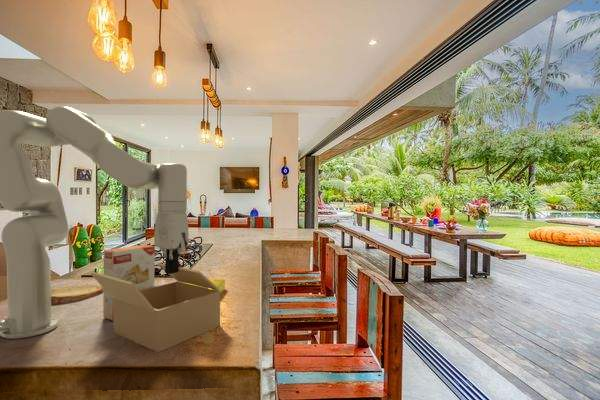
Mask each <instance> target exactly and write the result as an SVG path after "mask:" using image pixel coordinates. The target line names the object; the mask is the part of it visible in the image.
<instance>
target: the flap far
mask: <svg viewBox="0 0 600 400" xmlns="http://www.w3.org/2000/svg"><path fill="white" fill-rule="evenodd" d="M156 265H157V266H158V267H159V268H161V270H163V271H164V272H165V263H160V262H157V263H156ZM178 269H179V271H178V272H177V273H172V274H168V275H169V276H170V277H172V278H173V279H174V281H178V282H183V283H188V284H192V285H197V286H201V287H205V288H209V289H213V290H218V291H219V288H218V287H217V286H215V285H214V284H213V283H212V282H211V281H210V280H209V279H210V278H208V277H207V276H206V275H205V274H203V273H202V272H201V271H199V270H194V269H190V268H187V267H180V266H179V268H178Z"/></svg>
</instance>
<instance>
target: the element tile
mask: <svg viewBox="0 0 600 400" xmlns="http://www.w3.org/2000/svg"><path fill="white" fill-rule="evenodd" d="M208 279H209V280H210V281H211V282H212V283H213V284H214V285H215V286H217V287H218V288H219V291H220V296H221V295H223V293H224V292H225V290H226V289H225V288H226V281H225V279H224V278H208ZM187 284H188V283H187ZM191 285H192V284H191ZM195 286H197V285H195ZM200 287H201V286H200ZM204 288H205V287H204ZM208 289H209V288H208ZM212 290H213V289H212ZM216 291H218V290H216Z"/></svg>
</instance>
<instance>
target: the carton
mask: <svg viewBox="0 0 600 400" xmlns="http://www.w3.org/2000/svg"><path fill="white" fill-rule="evenodd" d="M139 291H140V292H141V293H142V294H143V296H144V297H145V298H146V299H147V301H148V302H149V303H150V304H151V305H152V307H153V308H154V309H155V310H156V311H155V312H152V311H149V310H146V309H143V308H140V307H137V306H134V305H131V304H128V303H125V302H122V301H119V300H116V299H113V306H114V321H113V334H115V335H117V336H120V337H123V339H126V340H128V341H131V342H133V343H135V344H137V345H140V346H142V347H145V348H146V349H149V350H151V351H153V350H154V351H153V352H156V353H159V352H161V351H164V350H166V349H169V348H171V347H173V346H176V345H179V344H181V343H183V342H186V341H189V340H190V339H193V338H195V337H197V336H199V335H202V334H204V333H206V332H209V331H211V330H213V329H216V328H218V327H220V326H221V295H220V291H216V290H212V289H208V288H204V287H200V286H195V285H191V284H187V283H184V282H180V281H177V280H174V281H171V282H167V283H163V284H159V285H154V287H150V288H146V289H142V290H139Z"/></svg>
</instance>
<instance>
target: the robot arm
mask: <svg viewBox="0 0 600 400" xmlns="http://www.w3.org/2000/svg"><path fill="white" fill-rule="evenodd" d="M22 144H23V145H28V146H34V147H39V148H52V147H59V146H67V145H71V146H72V147H73V148H75V149H76V150H78V151H79V152H81V153H82V154H83V155H85V156H86V157H88V158H90V159H91V161H92V163H94V165H96V166H97V167H98V168H99V169H100V170H101V171H103V172H104V173H105V174H107V175H108V176H109V177H111V178H112V179H114V180H115V181H117V182H119V183H120V184H122V185H123V186H125V187H127V188H130V189H133V190H135V189H136V190H156V189H157V212H156V217H155V223H154V224H155V225H154V237H153V240H154V241H153V243H154V247H157V248H158V249H159V250H160V251H161V252H163V257H164V260H165V263H164V264H165V271H164V272H165V273H166V274H168V275H169V274H172V273H177V272H178V271H179V269H178V268H179V267H180V266H179V265H180V264H179V262H180V261H179V260H180V258H181V255H182V254H186V252H187V251H186V248H187V247H188V246H189V239H190V238H189V222H188V215H187V207H188V206H187V202H188V201H187V199H188V198H187V194H188V192H187V191H188V190H187V189H188V187H187V186H188V185H187V182H188V178H187V177H188V171H187V169H188V168H187V167H186V165H185V164H183V163H174V162H173V163H172V162H171V163H170V162H169V163H168V162H166V163H161V164H157V163H152V162H147V161H142V160H139V159H137V158H135V157H134V156H133V155H131V154H130V153H128V152H127V151H125V150H124V149H123V148H121V147H120V146H119V145H117V143H115V138H114V136H113V135H112V134H111V133H110V132H108V131H107V130H105V129H104V128H102V127H101V126H100V125H98V124H97V123H96V121H95V120H94V118H93V116H91V115H88V114H87V113H85V112H82V111H80V110H77V109H75V108H73V107H69V106H62V105H59V106H56V107H52V108H51V109H50V110H49V111H48V112H47V113H46V115H45V118H44V117H42V116H41V117H40V116H37V115H35V114H31V113H29V112H24V111H21V110H16V109H3V110H0V205H1V206H2V207H3V208H4V209H5V210H7V211H9V212H14V213H22V212H23V213H25V212H29V213H30V215H26V216H20V217H17V218H13V219H11V220H10V221H9V222H7V223H6V224H5V225H4V227H3V228H2V231H1V243H2V246H3V249H4V253H5V261H6V280H7V281H6V285H7V286H6V287H7V288H6V289H7V315H5V316H3V319H2V320H0V336H1V338H4V339H9V340H11V339H16V340H17V339H25V338H29V337H30V338H31V337H35V336H38V335H42V334H45V333H49V332H51V331H52V330H54V329H55V328H57V327H58V325H59V320H58V319H57V318H54V317H52V305H51V290H52V279H51V278H52V277H51V276H52V274H51V269H52V268H51V261H50V257H49V255H48V252H47V250H46V248H48V247H52V246H56V245H58V244H61V243H62V242H63V241H64V240H65V239H66V238H67V236H68V233H69V223H68V218H67V216H66V211H65V208H64V207H65V206H64V203H63V199H62V196H61V191H60V190H59V189H58V187H57V185H55V184H54V183H53V182H52V181H49V180H47V179H44V178H37V177H36V176H35V174H34V170H33V166H32V162H31V159H30V158H29V156H28V154H27V153H26V151H25V150H24V148H23V147H22Z"/></svg>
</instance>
